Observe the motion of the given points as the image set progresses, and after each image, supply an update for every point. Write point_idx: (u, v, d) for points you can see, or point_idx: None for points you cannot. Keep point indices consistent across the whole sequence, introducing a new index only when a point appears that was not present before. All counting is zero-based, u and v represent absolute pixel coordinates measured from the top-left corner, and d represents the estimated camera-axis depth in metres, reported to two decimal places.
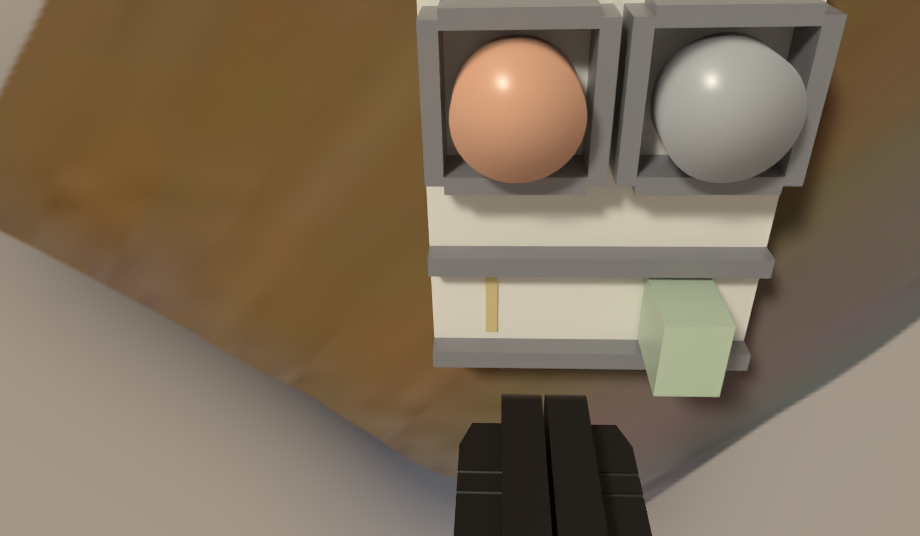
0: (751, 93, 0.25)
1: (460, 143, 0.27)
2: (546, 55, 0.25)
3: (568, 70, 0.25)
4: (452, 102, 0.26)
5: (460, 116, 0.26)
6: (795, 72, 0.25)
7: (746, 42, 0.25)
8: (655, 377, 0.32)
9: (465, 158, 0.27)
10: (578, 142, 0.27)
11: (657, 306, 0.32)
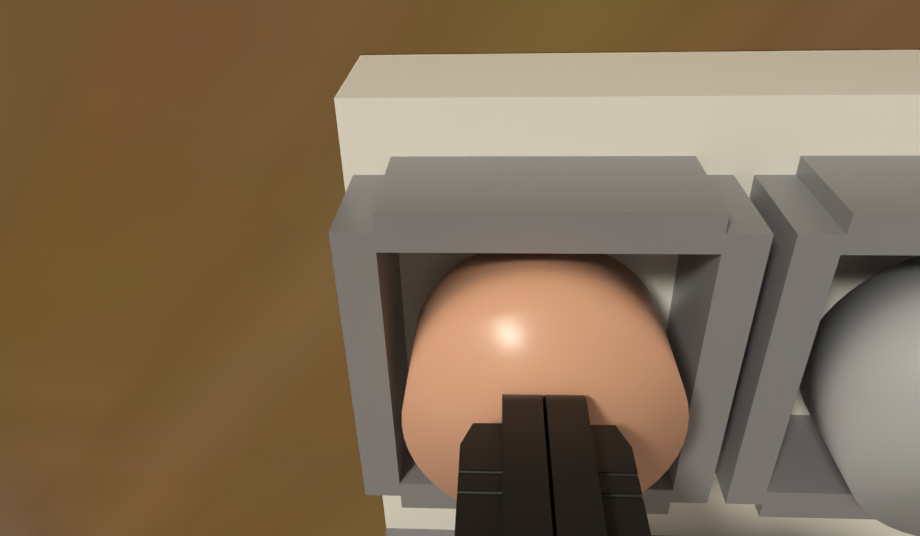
0: None
1: (426, 459, 0.13)
2: (608, 319, 0.12)
3: (654, 346, 0.12)
4: (407, 396, 0.13)
5: (425, 418, 0.13)
6: None
7: None
8: None
9: (437, 482, 0.14)
10: (666, 465, 0.13)
11: None
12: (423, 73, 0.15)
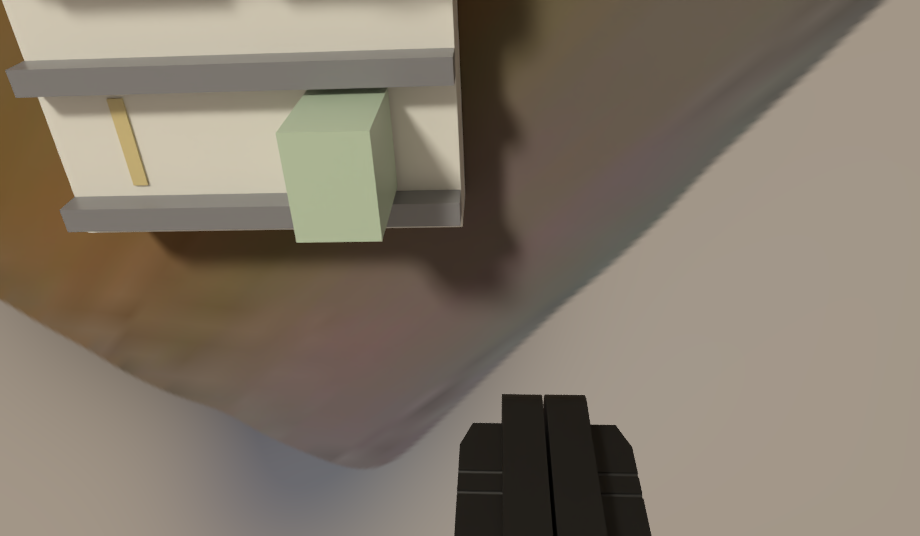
0: None
1: None
2: None
3: None
4: None
5: None
6: None
7: None
8: (292, 214, 0.24)
9: None
10: None
11: None
12: None
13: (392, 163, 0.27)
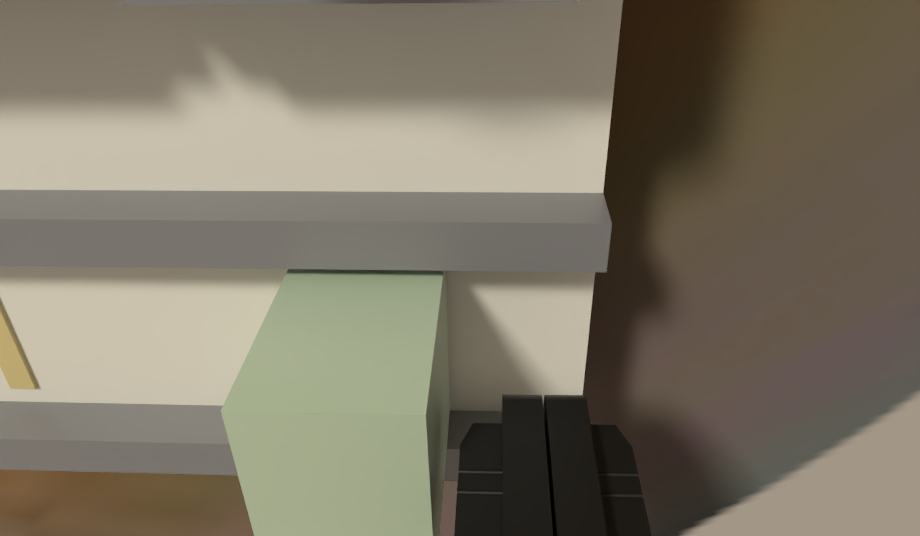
0: None
1: None
2: None
3: None
4: None
5: None
6: None
7: None
8: None
9: None
10: None
11: (253, 346, 0.12)
12: None
13: (447, 385, 0.15)
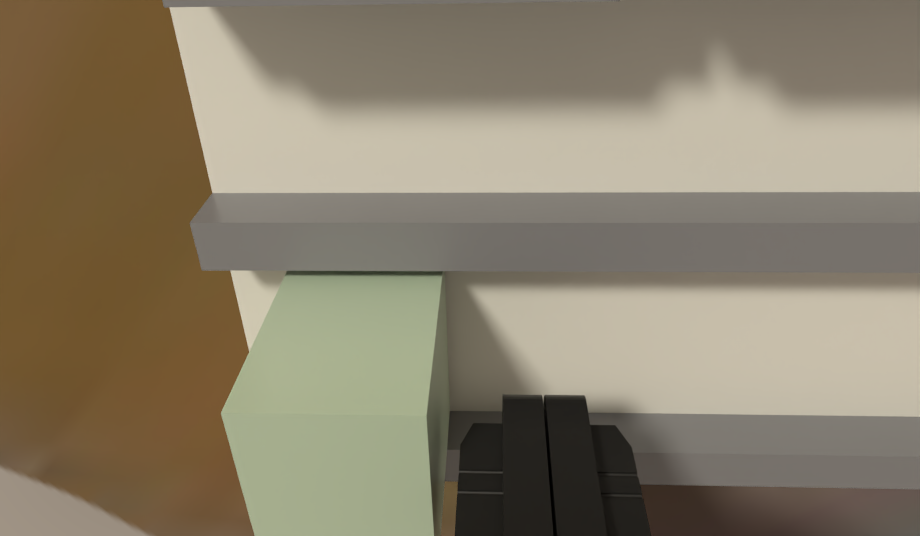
0: None
1: None
2: None
3: None
4: None
5: None
6: None
7: None
8: None
9: None
10: None
11: (253, 347, 0.12)
12: None
13: (446, 385, 0.15)
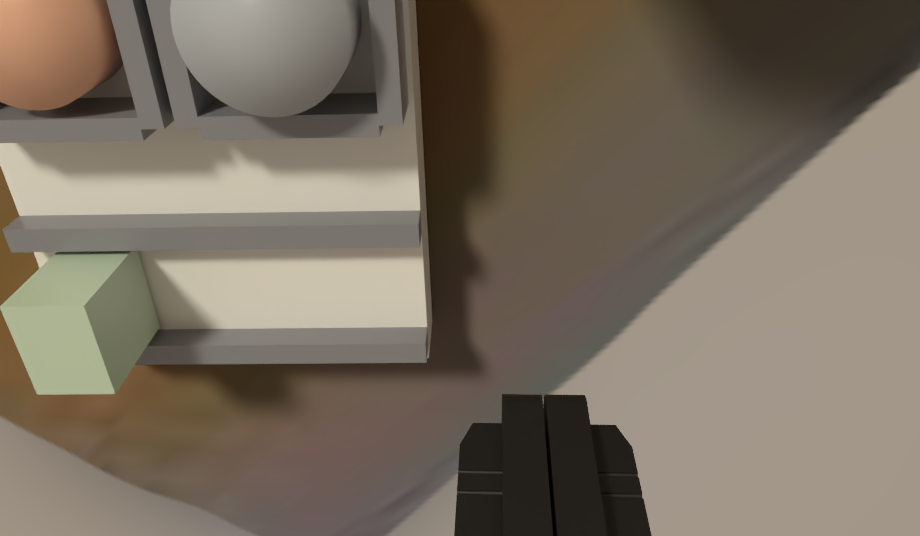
0: None
1: None
2: None
3: None
4: None
5: None
6: None
7: None
8: (30, 371, 0.26)
9: None
10: (95, 55, 0.22)
11: (25, 284, 0.26)
12: None
13: (146, 311, 0.29)
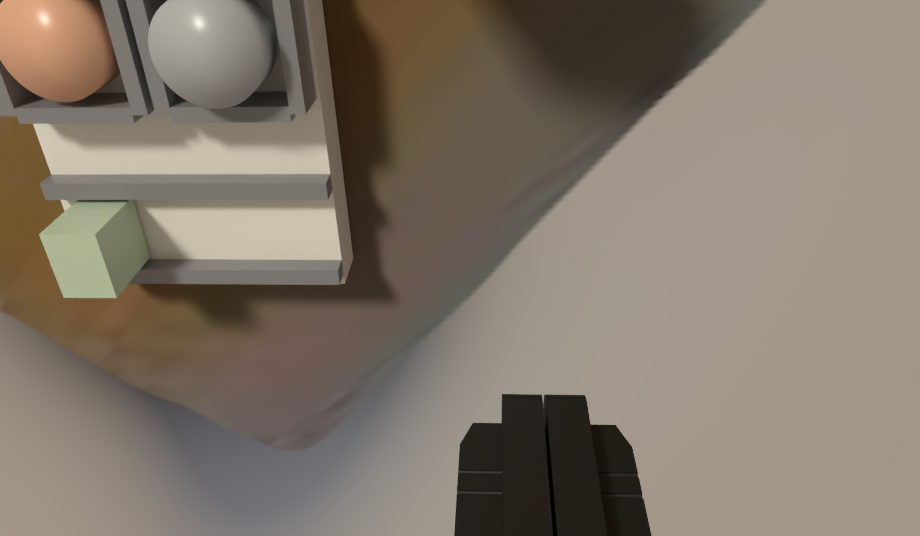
0: (211, 31, 0.31)
1: (11, 68, 0.34)
2: None
3: (74, 7, 0.32)
4: None
5: (3, 45, 0.33)
6: (238, 13, 0.31)
7: None
8: (58, 281, 0.38)
9: (19, 81, 0.34)
10: (101, 67, 0.33)
11: (55, 221, 0.38)
12: None
13: (139, 244, 0.41)
